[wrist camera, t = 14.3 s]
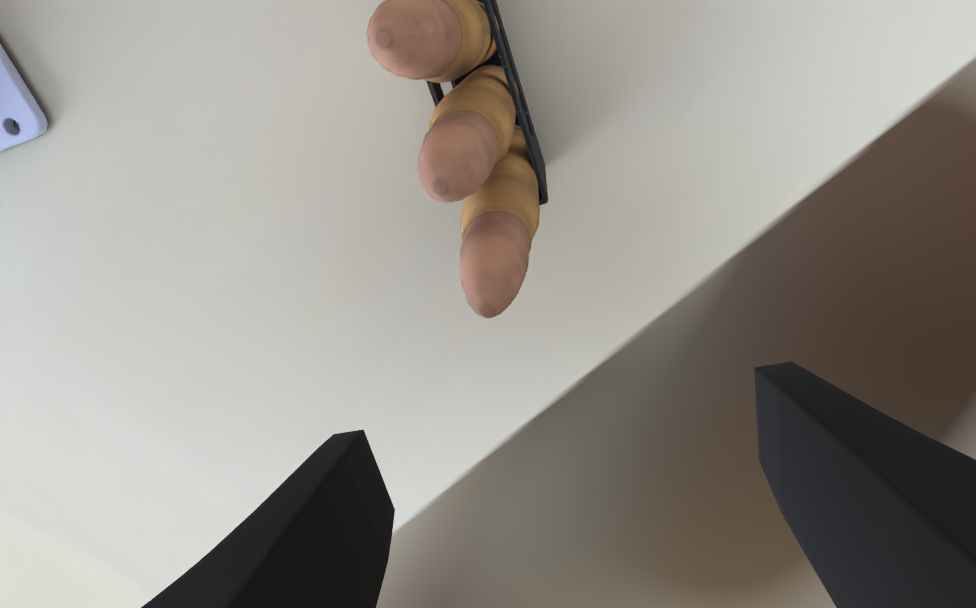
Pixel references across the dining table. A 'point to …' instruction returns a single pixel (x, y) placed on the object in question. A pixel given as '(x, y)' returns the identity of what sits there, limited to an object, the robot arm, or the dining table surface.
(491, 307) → the ammunition clip
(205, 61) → the dining table surface
